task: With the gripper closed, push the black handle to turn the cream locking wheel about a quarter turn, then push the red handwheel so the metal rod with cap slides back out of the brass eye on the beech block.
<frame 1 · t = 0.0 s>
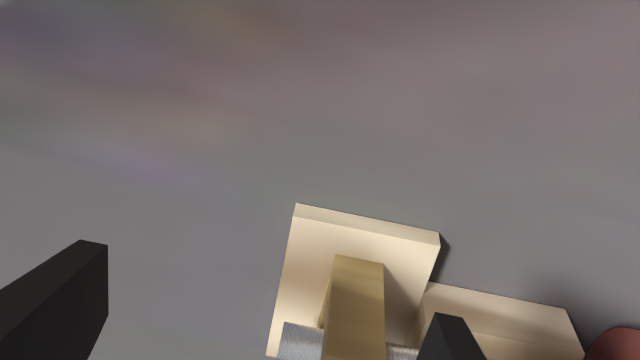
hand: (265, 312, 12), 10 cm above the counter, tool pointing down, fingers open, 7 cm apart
eye post: (347, 290, 24), on the counter
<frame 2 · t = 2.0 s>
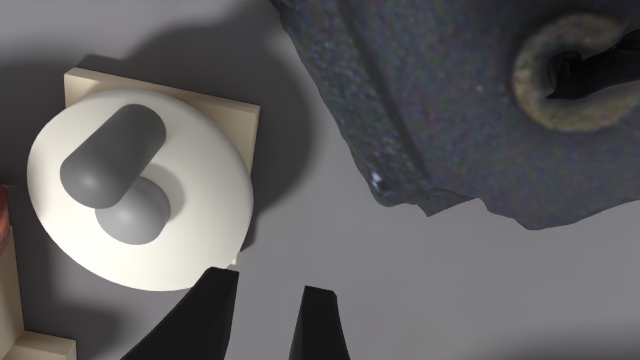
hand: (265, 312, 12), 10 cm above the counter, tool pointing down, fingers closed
wheel pedestal: (163, 167, 22), on the counter
locking wheel: (123, 223, 18), point 4 cm above the counter, hinge at 0.0°
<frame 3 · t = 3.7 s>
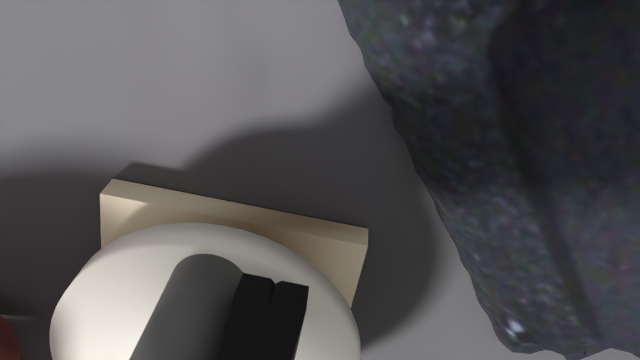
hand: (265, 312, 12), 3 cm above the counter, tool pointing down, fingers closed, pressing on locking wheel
wheel pedestal: (228, 300, 16), on the counter
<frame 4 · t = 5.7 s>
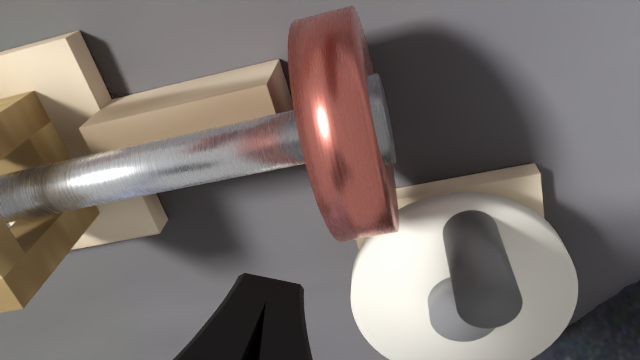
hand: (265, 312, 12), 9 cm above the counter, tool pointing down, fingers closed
wheel pedestal: (451, 254, 22), on the counter
metal rod with cap: (143, 169, 17), point 4 cm above the counter, slide at 0.0 cm
eye post: (59, 148, 21), on the counter
locking wheel: (466, 326, 19), point 4 cm above the counter, hinge at 76.8°
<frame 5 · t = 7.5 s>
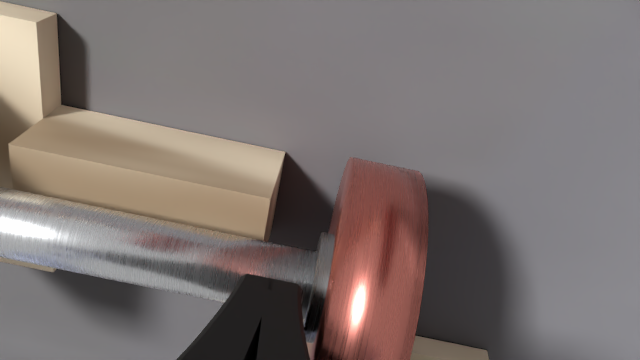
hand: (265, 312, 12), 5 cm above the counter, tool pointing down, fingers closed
metal rod with cap: (84, 238, 13), point 4 cm above the counter, slide at 0.2 cm, touching gripper
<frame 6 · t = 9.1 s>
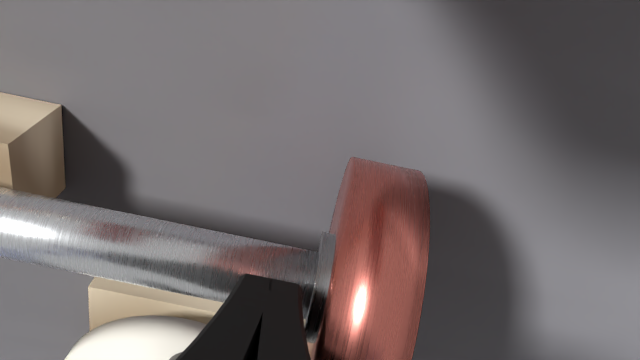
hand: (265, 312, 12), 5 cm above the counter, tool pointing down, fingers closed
metal rod with cap: (85, 239, 13), point 4 cm above the counter, slide at 6.7 cm, touching gripper
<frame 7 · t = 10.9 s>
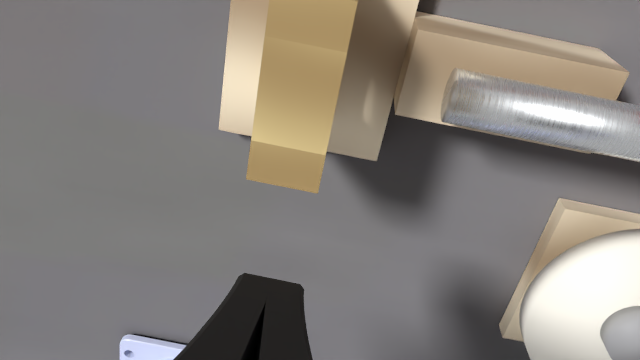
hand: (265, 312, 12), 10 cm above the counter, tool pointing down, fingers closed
wheel pedestal: (606, 281, 23), on the counter
eye post: (319, 33, 19), on the counter
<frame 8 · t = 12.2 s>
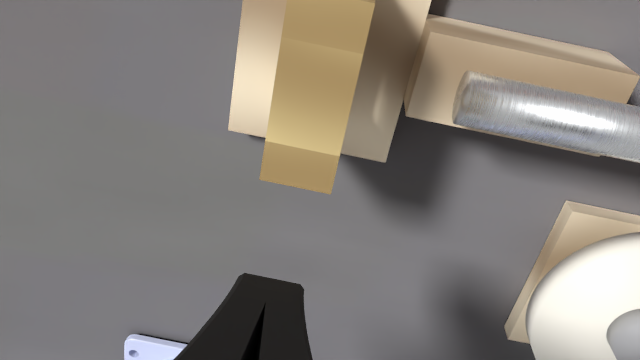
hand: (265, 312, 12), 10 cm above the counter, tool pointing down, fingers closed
wheel pedestal: (611, 284, 23), on the counter
eye post: (329, 34, 19), on the counter
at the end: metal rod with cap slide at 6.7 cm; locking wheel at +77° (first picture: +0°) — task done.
